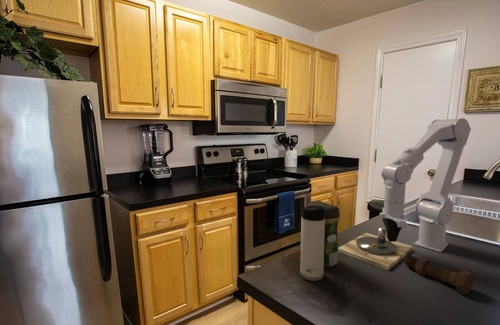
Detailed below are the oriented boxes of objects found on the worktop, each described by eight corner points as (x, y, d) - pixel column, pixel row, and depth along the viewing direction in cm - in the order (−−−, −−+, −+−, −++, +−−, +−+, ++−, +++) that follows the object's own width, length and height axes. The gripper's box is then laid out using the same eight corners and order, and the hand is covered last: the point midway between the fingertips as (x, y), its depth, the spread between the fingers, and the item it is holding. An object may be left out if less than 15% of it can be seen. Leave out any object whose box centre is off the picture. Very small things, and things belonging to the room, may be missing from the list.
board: (365, 235, 100) (365, 232, 99) (412, 249, 88) (412, 245, 87) (337, 251, 87) (337, 247, 86) (388, 270, 75) (388, 265, 74)
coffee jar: (301, 256, 83) (302, 200, 81) (321, 251, 86) (322, 197, 84) (321, 271, 74) (323, 208, 72) (342, 265, 78) (344, 204, 76)
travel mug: (311, 284, 68) (312, 210, 66) (295, 272, 74) (296, 204, 71) (329, 278, 71) (331, 207, 69) (312, 267, 77) (314, 201, 74)
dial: (366, 236, 95) (367, 223, 95) (402, 246, 86) (403, 232, 86) (349, 245, 87) (350, 231, 87) (386, 258, 78) (387, 243, 78)
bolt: (407, 271, 78) (469, 297, 64) (399, 267, 75) (461, 293, 62) (413, 253, 79) (475, 275, 65) (405, 248, 76) (467, 270, 63)
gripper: (374, 195, 92) (372, 231, 94) (389, 206, 78) (386, 249, 79) (395, 195, 91) (393, 233, 92) (414, 207, 77) (411, 251, 78)
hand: (391, 240), depth 86 cm, fingers closed
